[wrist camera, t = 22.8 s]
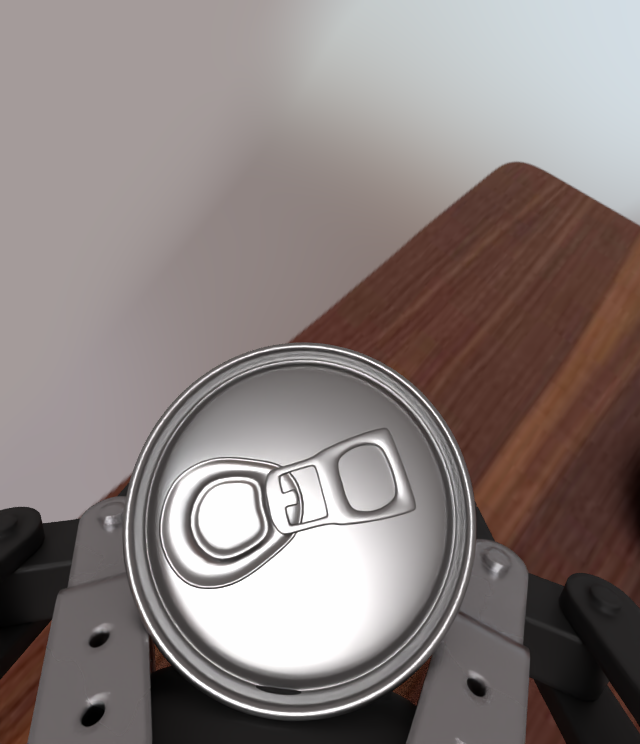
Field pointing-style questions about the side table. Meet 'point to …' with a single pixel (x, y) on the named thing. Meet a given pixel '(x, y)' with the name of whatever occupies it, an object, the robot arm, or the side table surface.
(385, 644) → the can
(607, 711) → the robot arm
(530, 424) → the side table surface
